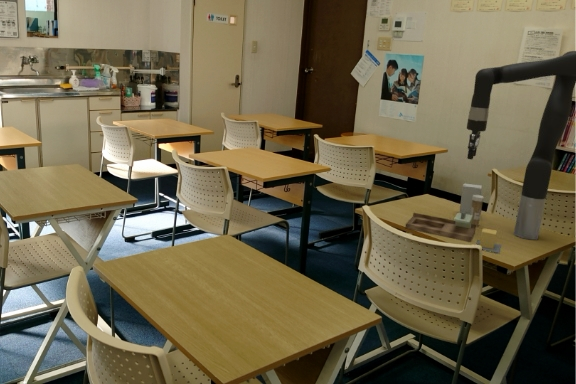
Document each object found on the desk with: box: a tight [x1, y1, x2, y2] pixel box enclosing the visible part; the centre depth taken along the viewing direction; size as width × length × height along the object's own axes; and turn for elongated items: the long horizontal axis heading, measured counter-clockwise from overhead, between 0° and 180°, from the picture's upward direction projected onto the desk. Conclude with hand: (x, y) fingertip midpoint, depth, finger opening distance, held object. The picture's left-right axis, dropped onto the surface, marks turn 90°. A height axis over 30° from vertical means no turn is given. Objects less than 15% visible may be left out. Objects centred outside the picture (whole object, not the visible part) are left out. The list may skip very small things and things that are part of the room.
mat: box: [475, 239, 502, 254], centre depth 201 cm, size 10×10×1 cm
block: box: [479, 228, 498, 249], centre depth 200 cm, size 5×5×6 cm
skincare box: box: [458, 183, 483, 215], centre depth 237 cm, size 8×6×15 cm
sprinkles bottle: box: [470, 195, 485, 227], centre depth 225 cm, size 5×5×14 cm
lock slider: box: [452, 210, 473, 229], centre depth 211 cm, size 6×10×8 cm, turn 154°
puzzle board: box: [404, 212, 477, 243], centre depth 215 cm, size 26×13×4 cm, turn 64°
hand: (471, 157), depth 217 cm, fingers open, 8 cm apart
